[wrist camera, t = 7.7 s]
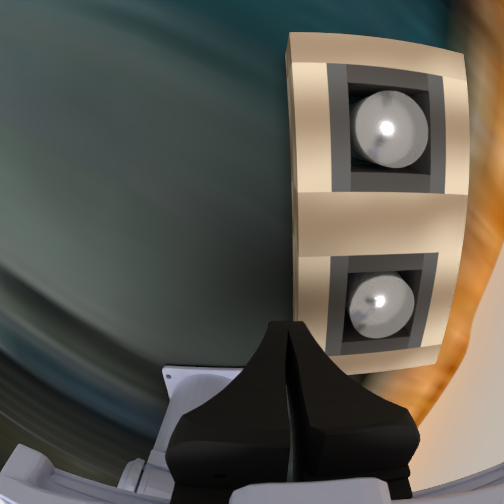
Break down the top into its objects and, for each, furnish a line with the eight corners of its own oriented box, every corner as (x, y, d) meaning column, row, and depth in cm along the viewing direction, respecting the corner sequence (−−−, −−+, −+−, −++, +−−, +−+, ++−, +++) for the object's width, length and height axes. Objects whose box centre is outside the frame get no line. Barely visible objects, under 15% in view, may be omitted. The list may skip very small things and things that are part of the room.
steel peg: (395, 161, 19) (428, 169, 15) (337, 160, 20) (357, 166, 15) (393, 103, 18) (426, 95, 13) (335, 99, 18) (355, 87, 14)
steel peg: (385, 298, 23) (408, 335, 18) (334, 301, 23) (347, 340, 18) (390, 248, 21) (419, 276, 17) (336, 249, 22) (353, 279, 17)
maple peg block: (412, 327, 24) (435, 363, 19) (292, 335, 24) (296, 378, 20) (426, 67, 17) (463, 54, 12) (285, 56, 18) (289, 32, 13)
